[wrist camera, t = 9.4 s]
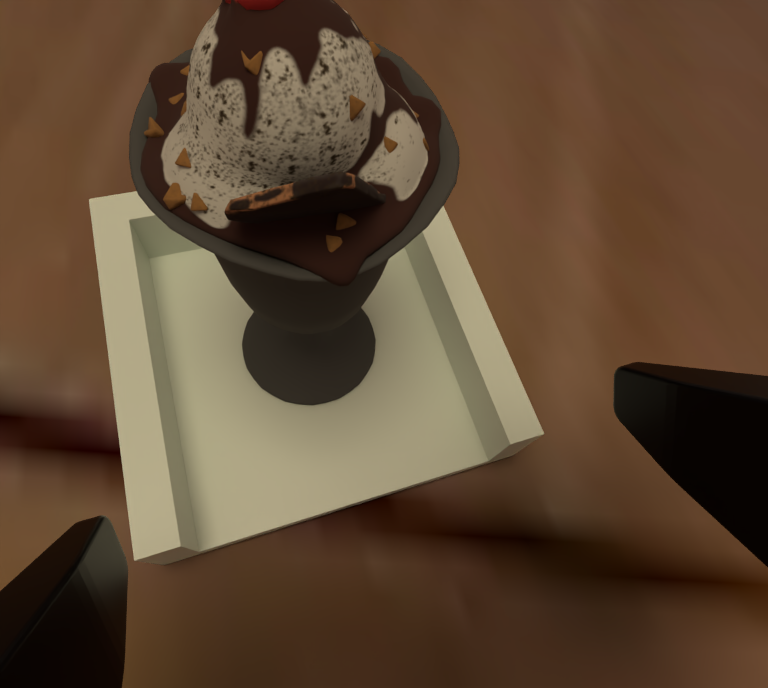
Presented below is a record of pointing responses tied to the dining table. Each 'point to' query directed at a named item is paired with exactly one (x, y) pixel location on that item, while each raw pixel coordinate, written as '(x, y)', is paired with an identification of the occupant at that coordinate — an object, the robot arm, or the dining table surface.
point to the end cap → (279, 418)
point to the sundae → (294, 177)
